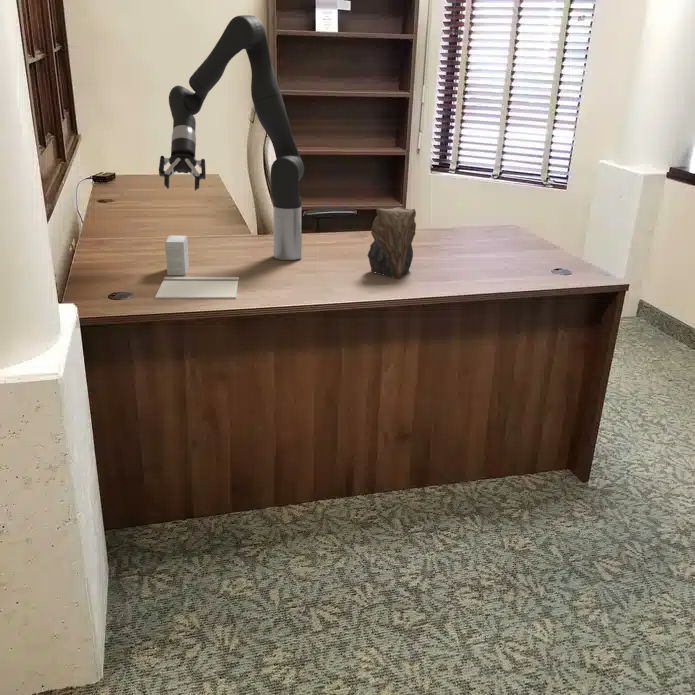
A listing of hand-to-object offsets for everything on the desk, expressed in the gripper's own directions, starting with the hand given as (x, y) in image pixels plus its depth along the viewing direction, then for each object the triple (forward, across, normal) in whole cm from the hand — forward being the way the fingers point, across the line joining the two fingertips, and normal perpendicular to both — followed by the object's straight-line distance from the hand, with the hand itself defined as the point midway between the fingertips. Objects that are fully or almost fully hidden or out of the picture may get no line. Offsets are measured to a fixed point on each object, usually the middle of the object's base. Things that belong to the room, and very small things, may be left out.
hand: (181, 188), depth 213 cm
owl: (+25, +66, +2) cm, 71 cm away
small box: (+25, 0, +8) cm, 26 cm away
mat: (+36, +6, -5) cm, 36 cm away
